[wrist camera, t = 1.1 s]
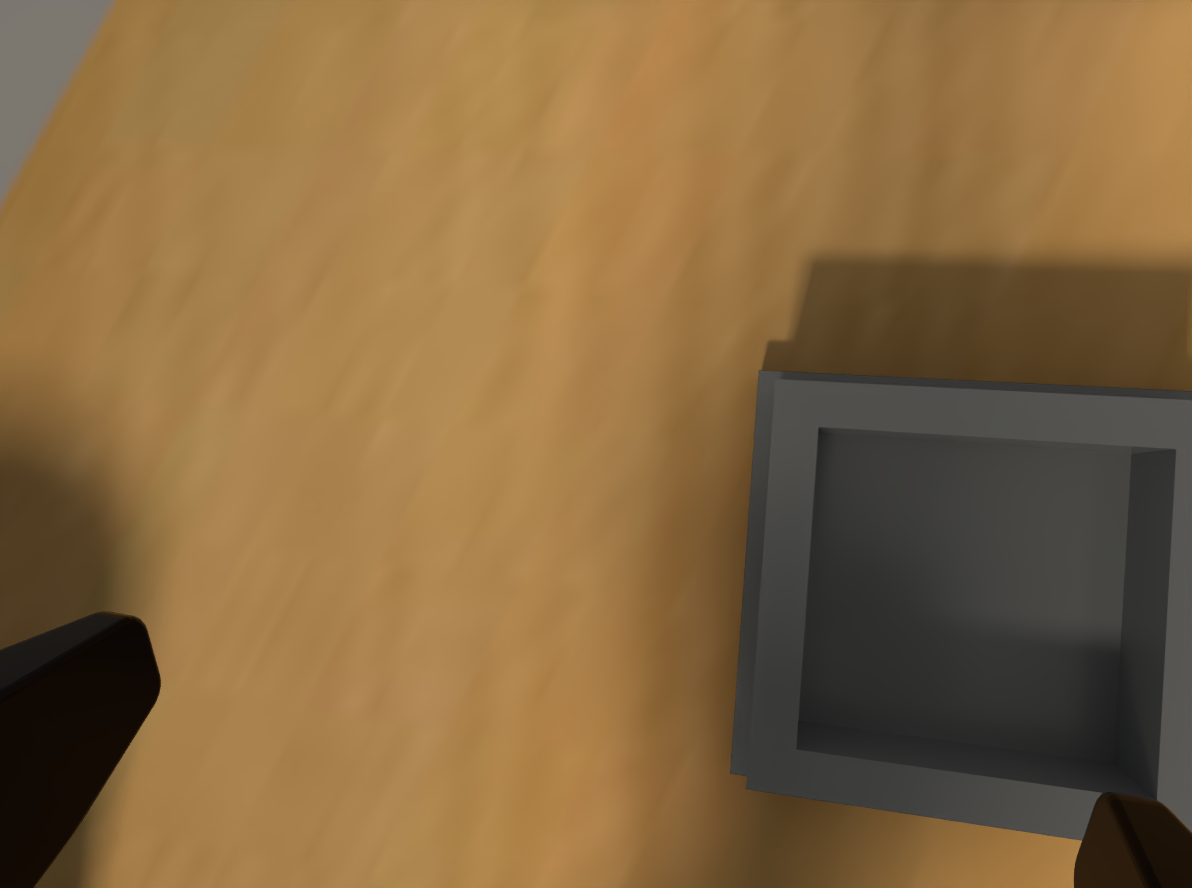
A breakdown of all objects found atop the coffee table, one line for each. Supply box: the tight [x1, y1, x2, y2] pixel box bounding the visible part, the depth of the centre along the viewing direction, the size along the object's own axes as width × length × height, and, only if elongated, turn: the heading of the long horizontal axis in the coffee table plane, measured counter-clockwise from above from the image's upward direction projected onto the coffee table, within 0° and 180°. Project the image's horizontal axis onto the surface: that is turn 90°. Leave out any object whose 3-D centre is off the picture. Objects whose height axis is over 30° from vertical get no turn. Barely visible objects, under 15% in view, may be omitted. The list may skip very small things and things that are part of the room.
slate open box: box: [730, 370, 1192, 840], centre depth 20 cm, size 10×10×3 cm
